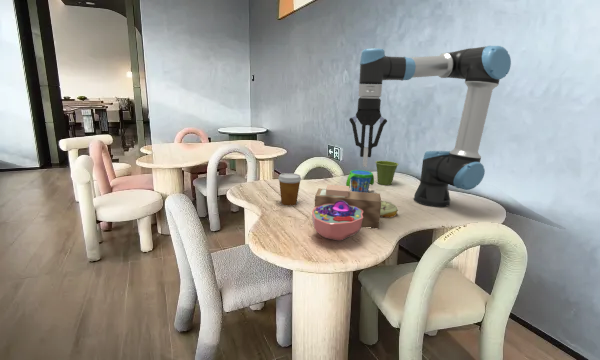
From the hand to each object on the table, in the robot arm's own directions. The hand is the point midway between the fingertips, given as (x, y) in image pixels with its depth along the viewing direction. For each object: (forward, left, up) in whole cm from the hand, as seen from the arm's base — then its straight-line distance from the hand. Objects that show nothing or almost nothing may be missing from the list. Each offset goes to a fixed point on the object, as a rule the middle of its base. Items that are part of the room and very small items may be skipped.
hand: (364, 165), depth 124 cm
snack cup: (0, -38, -21) cm, 44 cm away
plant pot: (-12, -60, -21) cm, 65 cm away
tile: (+5, 0, -10) cm, 11 cm away
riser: (+5, 0, -21) cm, 22 cm away
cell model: (+8, +15, -21) cm, 27 cm away
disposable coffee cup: (+30, -13, -21) cm, 39 cm away
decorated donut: (-9, -12, -21) cm, 26 cm away
